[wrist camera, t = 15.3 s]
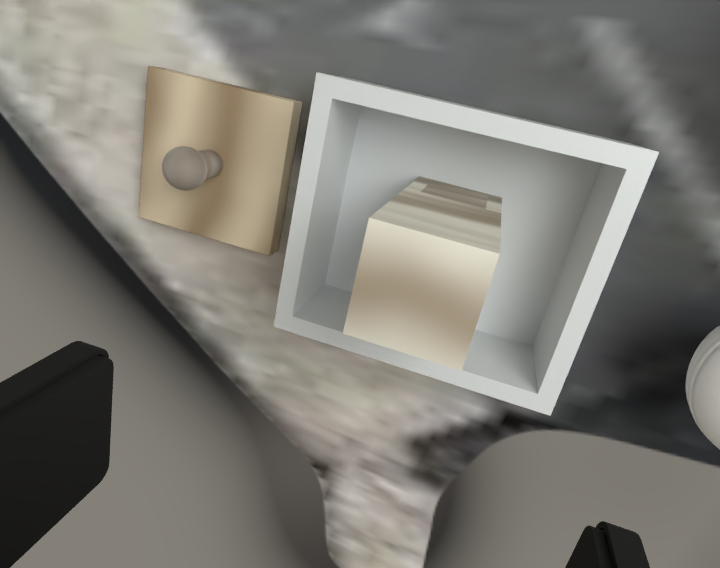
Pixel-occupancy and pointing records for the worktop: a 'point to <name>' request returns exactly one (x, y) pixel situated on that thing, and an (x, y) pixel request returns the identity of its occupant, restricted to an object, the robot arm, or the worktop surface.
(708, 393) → the spinning top
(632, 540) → the robot arm
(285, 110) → the square lid with knob
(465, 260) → the strut
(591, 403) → the worktop surface
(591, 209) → the bin
